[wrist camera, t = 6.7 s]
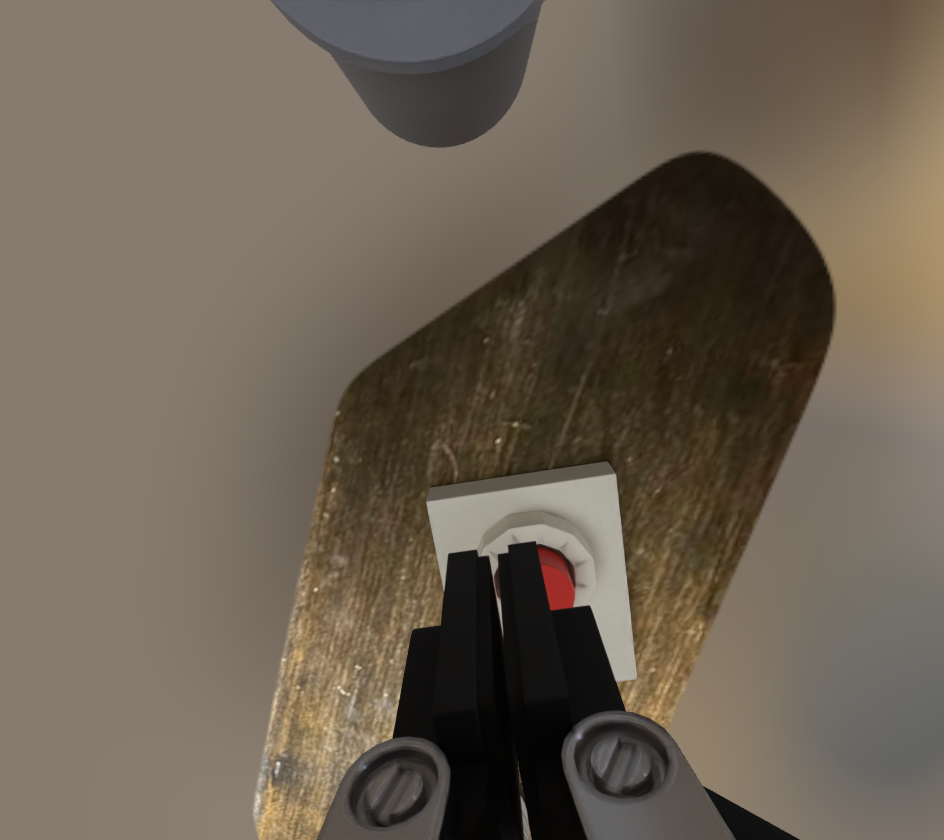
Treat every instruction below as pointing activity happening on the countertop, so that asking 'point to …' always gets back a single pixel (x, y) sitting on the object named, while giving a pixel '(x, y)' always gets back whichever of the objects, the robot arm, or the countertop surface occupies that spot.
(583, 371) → the countertop surface
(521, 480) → the grey button base
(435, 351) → the countertop surface
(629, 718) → the robot arm
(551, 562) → the power button
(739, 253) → the countertop surface
